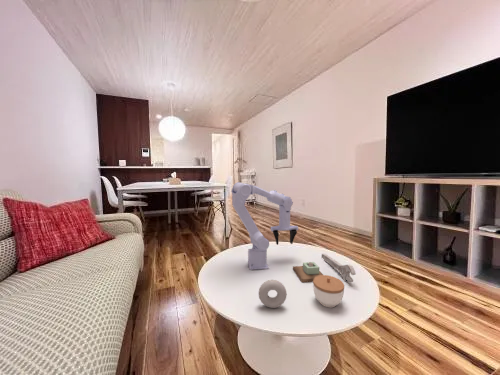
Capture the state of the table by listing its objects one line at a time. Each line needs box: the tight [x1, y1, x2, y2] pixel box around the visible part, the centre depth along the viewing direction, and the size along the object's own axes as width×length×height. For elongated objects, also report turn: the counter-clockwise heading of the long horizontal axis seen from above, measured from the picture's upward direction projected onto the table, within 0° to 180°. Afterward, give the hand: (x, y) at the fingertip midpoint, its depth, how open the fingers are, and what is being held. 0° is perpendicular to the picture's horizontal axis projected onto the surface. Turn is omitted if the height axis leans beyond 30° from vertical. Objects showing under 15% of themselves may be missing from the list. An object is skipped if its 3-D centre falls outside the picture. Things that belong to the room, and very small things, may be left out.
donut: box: [258, 279, 288, 309], centre depth 75 cm, size 10×4×10 cm, turn 88°
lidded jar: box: [312, 274, 345, 308], centre depth 78 cm, size 11×11×9 cm
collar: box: [302, 261, 320, 275], centre depth 98 cm, size 6×6×3 cm
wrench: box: [321, 253, 356, 283], centre depth 102 cm, size 8×2×30 cm
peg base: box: [292, 261, 324, 283], centre depth 98 cm, size 11×12×6 cm
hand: (284, 243), depth 112 cm, fingers open, 7 cm apart
